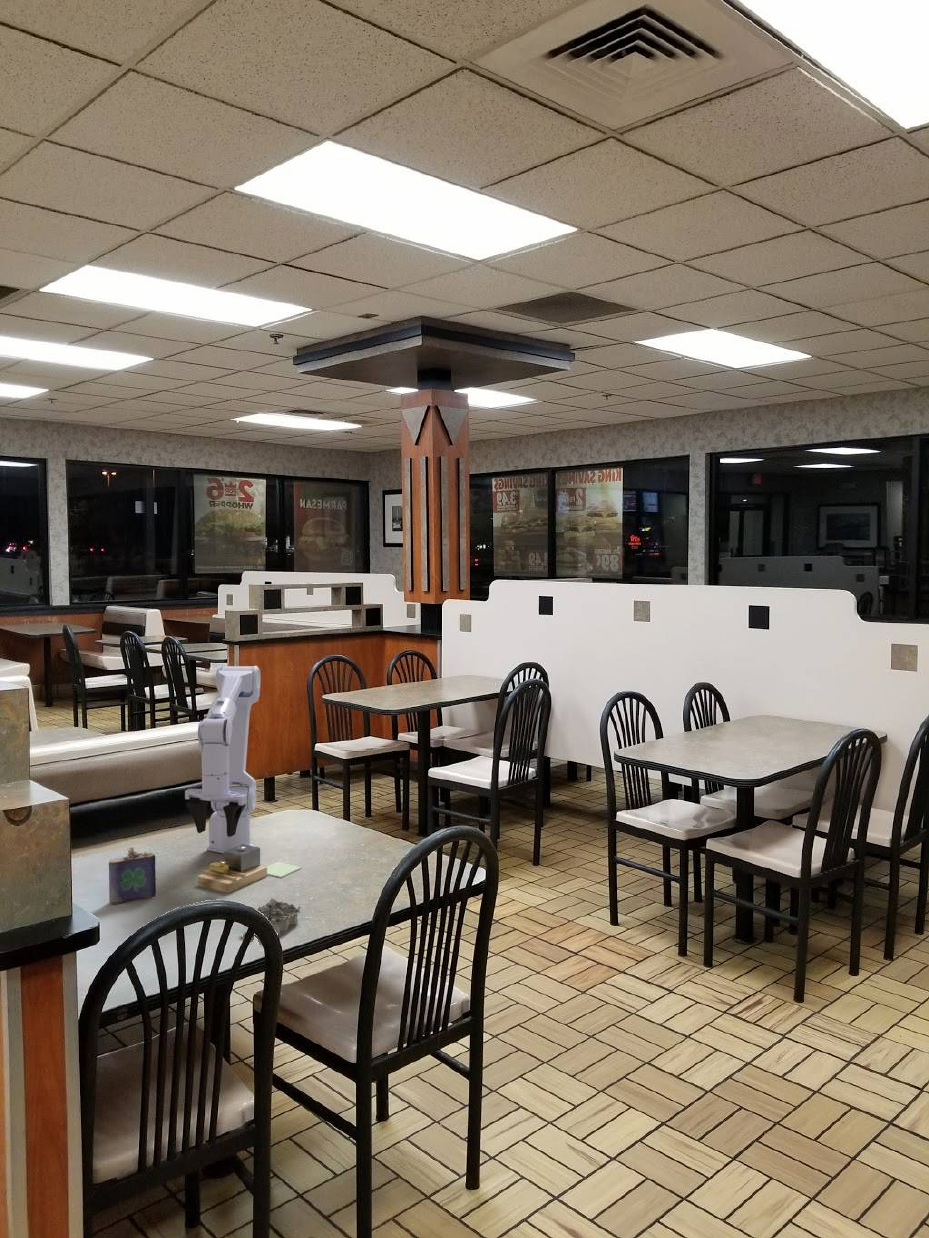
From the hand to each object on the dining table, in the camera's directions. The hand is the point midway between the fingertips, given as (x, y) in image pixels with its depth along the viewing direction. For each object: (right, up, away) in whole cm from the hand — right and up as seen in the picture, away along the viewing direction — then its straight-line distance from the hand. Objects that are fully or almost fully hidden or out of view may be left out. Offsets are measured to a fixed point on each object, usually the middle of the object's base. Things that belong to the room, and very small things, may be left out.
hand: (216, 833), depth 207 cm
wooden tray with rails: (+4, -10, -2) cm, 11 cm away
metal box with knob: (+6, -8, +1) cm, 9 cm away
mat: (+13, -9, +5) cm, 17 cm away
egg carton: (+18, -12, -26) cm, 34 cm away
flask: (-14, -11, -13) cm, 22 cm away
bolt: (+2, -8, -4) cm, 9 cm away
